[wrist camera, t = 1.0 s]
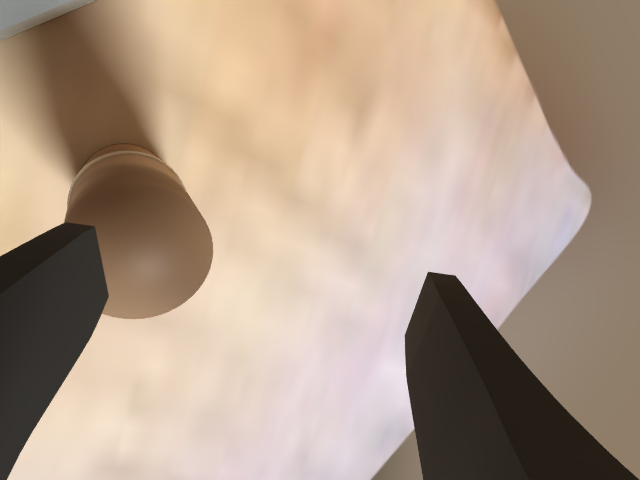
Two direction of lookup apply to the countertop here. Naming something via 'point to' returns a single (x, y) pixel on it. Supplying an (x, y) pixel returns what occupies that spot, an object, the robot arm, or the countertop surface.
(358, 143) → the countertop surface
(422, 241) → the countertop surface
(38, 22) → the grey board with holes
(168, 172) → the walnut peg
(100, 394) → the countertop surface
